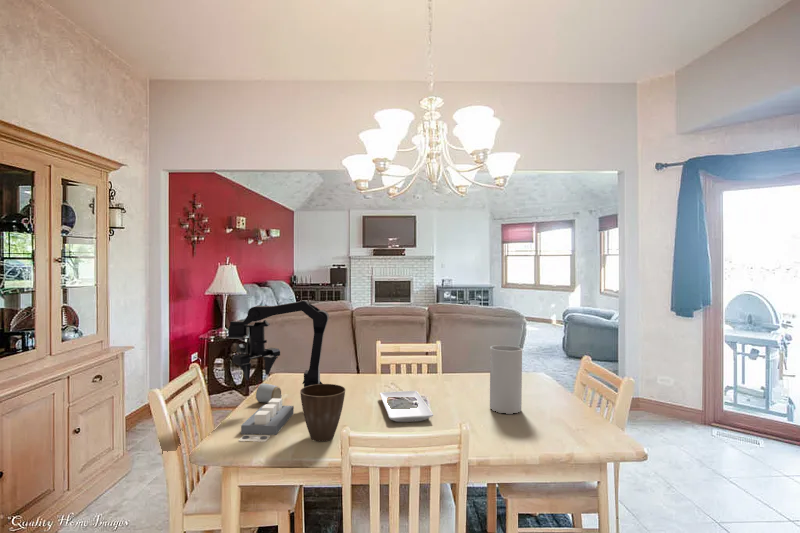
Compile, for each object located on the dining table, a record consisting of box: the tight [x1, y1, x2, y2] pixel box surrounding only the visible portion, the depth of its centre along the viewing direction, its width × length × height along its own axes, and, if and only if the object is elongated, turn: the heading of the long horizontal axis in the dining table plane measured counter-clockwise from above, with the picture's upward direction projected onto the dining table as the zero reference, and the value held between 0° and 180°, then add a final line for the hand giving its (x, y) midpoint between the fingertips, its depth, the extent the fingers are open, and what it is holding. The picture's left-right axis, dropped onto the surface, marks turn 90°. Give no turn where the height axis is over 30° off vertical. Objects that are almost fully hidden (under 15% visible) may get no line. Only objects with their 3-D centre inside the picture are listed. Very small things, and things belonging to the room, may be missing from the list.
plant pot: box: [299, 383, 346, 443], centre depth 141 cm, size 15×15×16 cm
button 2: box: [268, 398, 283, 411], centre depth 160 cm, size 4×4×4 cm
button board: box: [240, 404, 295, 436], centre depth 153 cm, size 12×21×3 cm, turn 178°
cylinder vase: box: [489, 344, 523, 415], centre depth 171 cm, size 12×12×25 cm
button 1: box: [254, 411, 270, 425], centre depth 146 cm, size 4×4×4 cm
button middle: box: [261, 403, 277, 418], centre depth 153 cm, size 4×4×4 cm
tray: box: [379, 390, 434, 423], centre depth 169 cm, size 17×32×4 cm, turn 9°
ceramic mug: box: [255, 382, 282, 404], centre depth 178 cm, size 11×8×8 cm
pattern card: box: [237, 434, 272, 443], centre depth 139 cm, size 9×5×1 cm, turn 88°
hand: (257, 377), depth 166 cm, fingers open, 9 cm apart
